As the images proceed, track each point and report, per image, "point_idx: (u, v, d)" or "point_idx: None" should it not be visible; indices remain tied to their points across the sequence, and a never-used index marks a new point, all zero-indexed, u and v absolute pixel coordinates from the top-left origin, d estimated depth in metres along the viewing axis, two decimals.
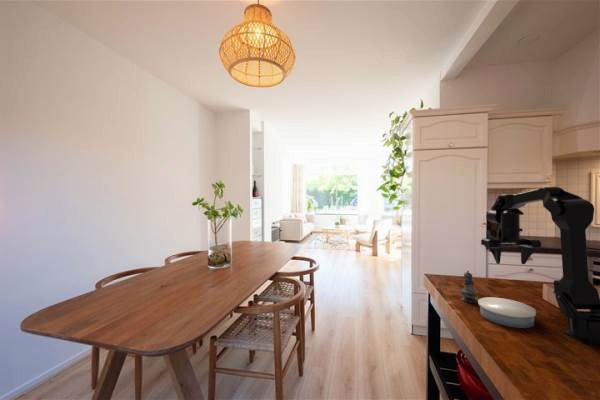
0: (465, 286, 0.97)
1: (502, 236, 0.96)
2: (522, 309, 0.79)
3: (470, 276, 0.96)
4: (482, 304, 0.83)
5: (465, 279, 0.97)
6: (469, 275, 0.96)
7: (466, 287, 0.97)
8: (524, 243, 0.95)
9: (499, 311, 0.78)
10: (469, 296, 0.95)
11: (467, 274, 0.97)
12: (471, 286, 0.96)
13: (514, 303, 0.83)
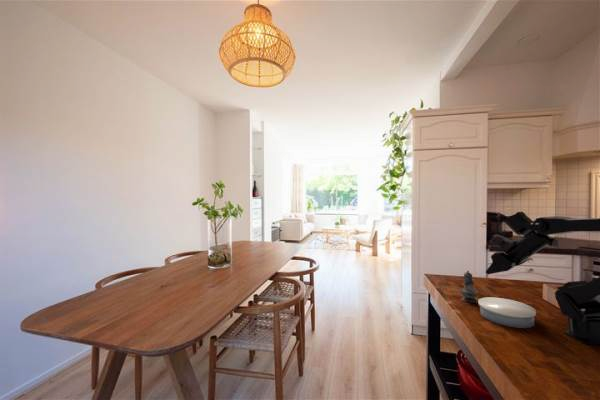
0: (465, 286, 0.97)
1: (514, 254, 0.83)
2: (522, 309, 0.79)
3: (470, 276, 0.96)
4: (482, 304, 0.83)
5: (465, 279, 0.97)
6: (469, 275, 0.96)
7: (466, 287, 0.97)
8: None
9: (499, 311, 0.78)
10: (469, 296, 0.95)
11: (467, 274, 0.97)
12: (471, 286, 0.96)
13: (514, 303, 0.83)
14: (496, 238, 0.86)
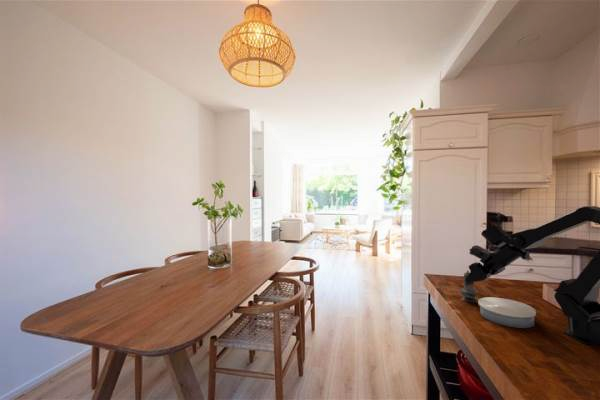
0: (465, 286, 0.97)
1: (490, 264, 0.89)
2: (522, 309, 0.79)
3: None
4: (482, 304, 0.83)
5: None
6: None
7: (466, 287, 0.97)
8: None
9: (499, 311, 0.78)
10: (469, 296, 0.95)
11: (467, 274, 0.97)
12: (471, 286, 0.96)
13: (514, 303, 0.83)
14: (474, 249, 0.92)
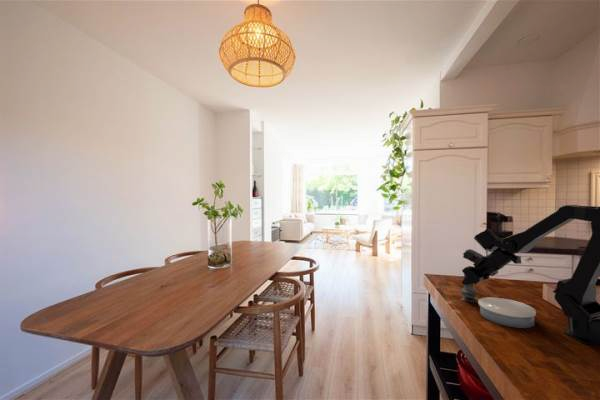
0: (465, 286, 0.97)
1: (483, 268, 0.91)
2: (522, 309, 0.79)
3: None
4: (482, 304, 0.83)
5: None
6: None
7: (466, 287, 0.97)
8: None
9: (499, 311, 0.78)
10: (469, 296, 0.95)
11: None
12: (471, 286, 0.96)
13: (514, 303, 0.83)
14: (467, 253, 0.94)
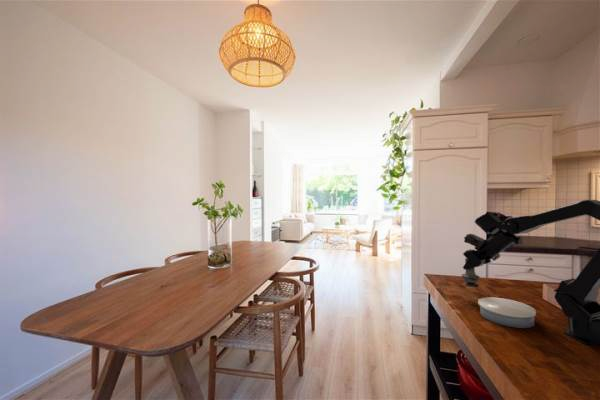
0: (466, 271, 0.96)
1: (484, 251, 0.90)
2: (522, 309, 0.79)
3: None
4: (482, 304, 0.83)
5: None
6: None
7: (468, 272, 0.96)
8: None
9: (499, 311, 0.78)
10: (471, 280, 0.94)
11: None
12: (472, 270, 0.95)
13: (514, 303, 0.83)
14: (468, 237, 0.93)
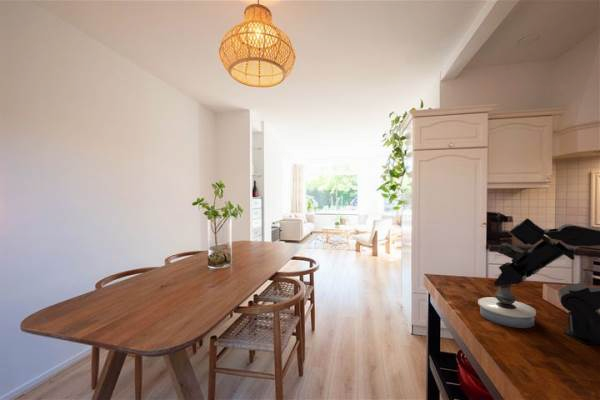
0: (501, 289, 0.82)
1: (524, 265, 0.75)
2: (522, 309, 0.79)
3: None
4: (482, 304, 0.83)
5: None
6: None
7: (502, 291, 0.81)
8: None
9: (499, 311, 0.78)
10: (506, 301, 0.80)
11: None
12: (508, 289, 0.80)
13: (514, 303, 0.83)
14: (504, 247, 0.78)
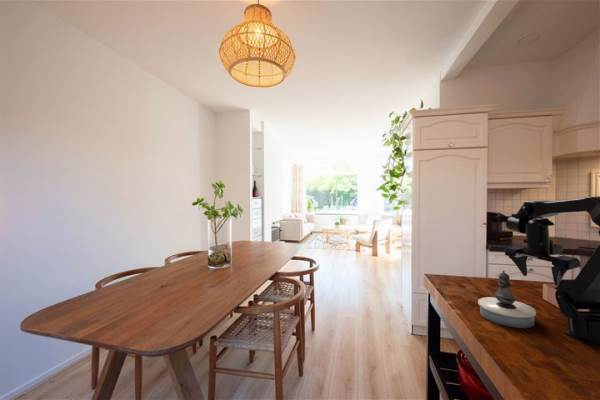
0: (501, 289, 0.82)
1: None
2: (522, 309, 0.79)
3: (507, 277, 0.81)
4: (482, 304, 0.83)
5: (500, 281, 0.82)
6: (506, 276, 0.81)
7: (502, 290, 0.81)
8: None
9: (499, 311, 0.78)
10: (506, 301, 0.80)
11: (503, 275, 0.81)
12: (508, 289, 0.80)
13: (514, 303, 0.83)
14: None
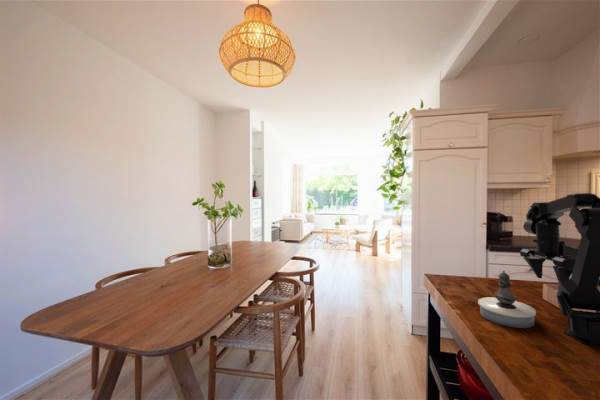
0: (501, 289, 0.82)
1: None
2: (522, 309, 0.79)
3: (507, 277, 0.81)
4: (482, 304, 0.83)
5: (501, 281, 0.82)
6: (506, 276, 0.81)
7: (502, 290, 0.81)
8: None
9: (499, 311, 0.78)
10: (506, 301, 0.80)
11: (503, 275, 0.81)
12: (508, 289, 0.80)
13: (514, 303, 0.83)
14: None
